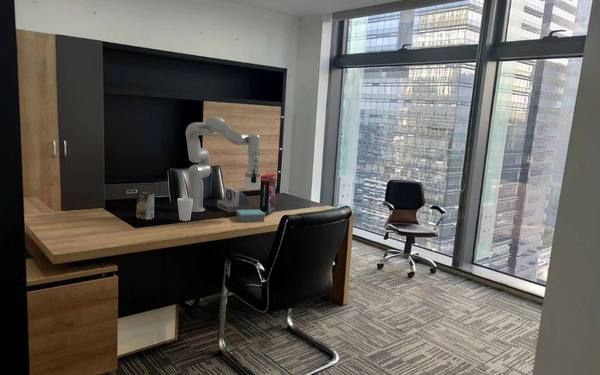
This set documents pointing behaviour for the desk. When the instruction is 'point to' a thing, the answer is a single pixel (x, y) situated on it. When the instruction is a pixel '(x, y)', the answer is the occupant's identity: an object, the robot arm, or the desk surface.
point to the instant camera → (233, 200)
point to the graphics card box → (267, 193)
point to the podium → (250, 215)
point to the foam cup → (185, 208)
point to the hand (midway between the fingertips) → (252, 181)
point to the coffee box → (145, 205)
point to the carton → (248, 180)
